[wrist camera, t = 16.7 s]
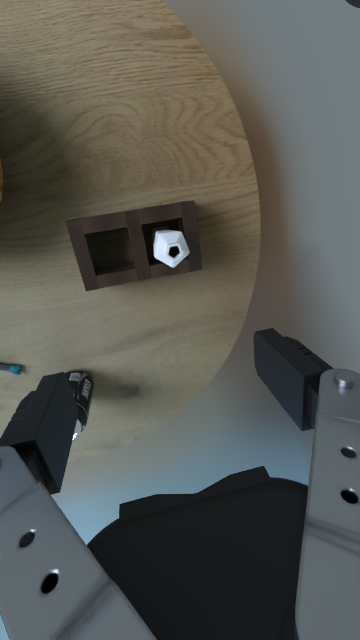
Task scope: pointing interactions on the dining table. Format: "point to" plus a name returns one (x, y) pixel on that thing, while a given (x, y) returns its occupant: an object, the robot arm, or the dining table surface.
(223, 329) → the dining table surface
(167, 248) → the perfume bottle
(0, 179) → the bowl
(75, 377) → the beverage can
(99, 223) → the holder
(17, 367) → the knife
